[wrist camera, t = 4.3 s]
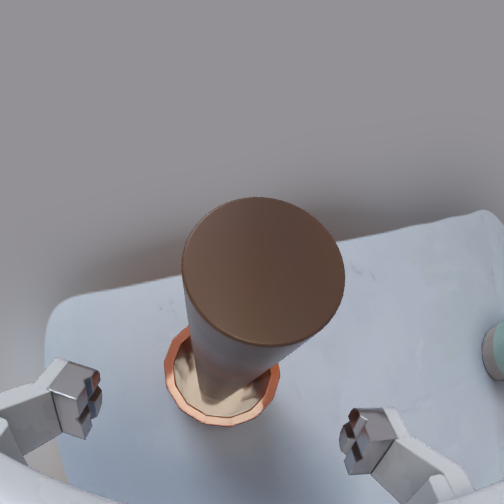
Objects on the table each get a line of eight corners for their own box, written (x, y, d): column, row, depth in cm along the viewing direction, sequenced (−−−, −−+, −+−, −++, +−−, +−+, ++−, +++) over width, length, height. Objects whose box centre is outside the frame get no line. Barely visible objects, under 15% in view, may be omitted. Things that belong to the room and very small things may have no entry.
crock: (180, 426, 19) (171, 432, 13) (171, 345, 22) (160, 319, 16) (264, 417, 20) (288, 417, 15) (251, 337, 23) (268, 309, 17)
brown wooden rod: (200, 401, 20) (188, 357, 4) (196, 364, 21) (177, 199, 5) (239, 397, 20) (363, 332, 5) (233, 361, 21) (323, 194, 6)
